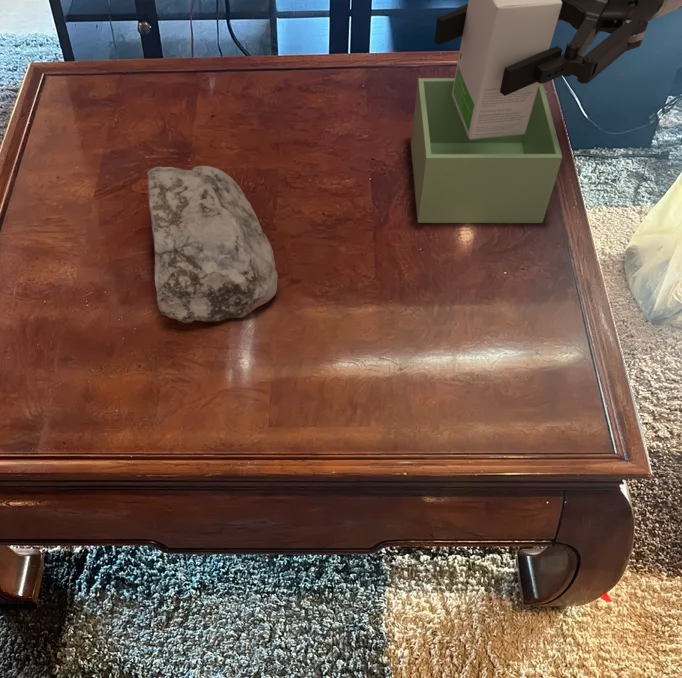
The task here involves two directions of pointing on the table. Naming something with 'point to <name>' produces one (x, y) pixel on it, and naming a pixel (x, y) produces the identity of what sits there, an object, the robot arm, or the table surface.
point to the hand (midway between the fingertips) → (470, 55)
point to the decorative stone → (207, 246)
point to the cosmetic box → (499, 63)
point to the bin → (480, 163)
